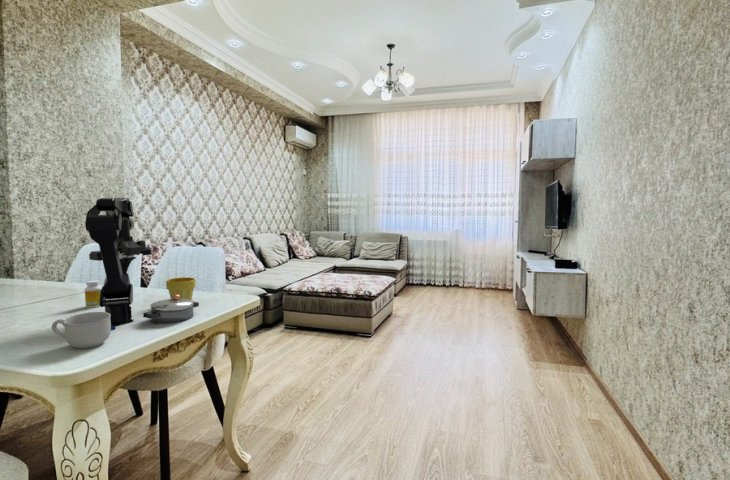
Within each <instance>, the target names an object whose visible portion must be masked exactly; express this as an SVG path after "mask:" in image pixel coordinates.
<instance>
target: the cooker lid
mask: <svg viewBox="0 0 730 480" xmlns="http://www.w3.org/2000/svg"><path fill="white" fill-rule="evenodd" d="M193 301H194V300H193V299H192V300H191V299H186V298H180V295H172V299H171V298H167V299H161V300H158V301H155V302H152V303H151V304H150V311H151V310H152V311H157V312H170V311H178V310H183V309H187V308H190V307H192V306H193Z"/></svg>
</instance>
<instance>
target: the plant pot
mask: <svg viewBox="0 0 730 480" xmlns="http://www.w3.org/2000/svg"><path fill="white" fill-rule="evenodd" d="M165 283H166V284H165V285H166V290H168V294H169V299H172V295H180V298H186V299H191V300H193V293H194V289H195V288H196V278H195V277H191V276H190V277H188V276H187V277H185V276H184V277H183V276H181V277H180V276H179V277H173V278H168V279H166V282H165Z"/></svg>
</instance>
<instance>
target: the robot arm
mask: <svg viewBox="0 0 730 480" xmlns="http://www.w3.org/2000/svg"><path fill="white" fill-rule="evenodd" d="M101 212H104V213H105V214H103V215H102V214H101ZM130 217H132V218H133V217H135V214H134V209H133V202H132V201H130V198H128V197H107V198H105V197H101V198H97V199H96V202H95V205H94V206H92V207H91V208H90V209H89V210H88V211H87V213H86V216H85V218H86V219H85V222H84V223H85V226H84V227H85V230H86V231H87V232H88V234H89V237H90V239H91V240H92V241H93V242H95V243H96V244H97V245H98V246H99V250H93V251H90V253H88V255H89V256H88V261H89V260H90V261H97V262H98V261H102V265H103V269H104V273H105V278H104V282H103V285H102V286H101V287H102V290H101V291H100V306H99V307H100V308H104V312H107V313H109V314H110V315H111V317H110V321H111V327H117V326H120V325H125V324H128V323H133V322H134V319H132V318H133V317H132V306H130V305H132V304H133V301H134V288H133V287H134V286H133V283H131V281H130V276H129V273H128V270H129V267H130V265H131V262H132V261H134V260H135V259H137V256H140V255H143V256H148V255H149V256H150V255H152V249H151V247H150V246H146V241H144V240H137V241H134V238H133V235H131V230H133V228H134V225H135V223H134V220H133V219H132V218H130Z"/></svg>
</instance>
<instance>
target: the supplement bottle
mask: <svg viewBox="0 0 730 480" xmlns="http://www.w3.org/2000/svg"><path fill="white" fill-rule="evenodd" d="M85 282H86V283H85V284H86V287H85V288H84V299H85V307H86V308H90V309H93V308H99V307H101V306H100V291H101V290H102V286H100V281H99V280H98V279H97V280H95V279H94V280H88V281H85Z"/></svg>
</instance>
